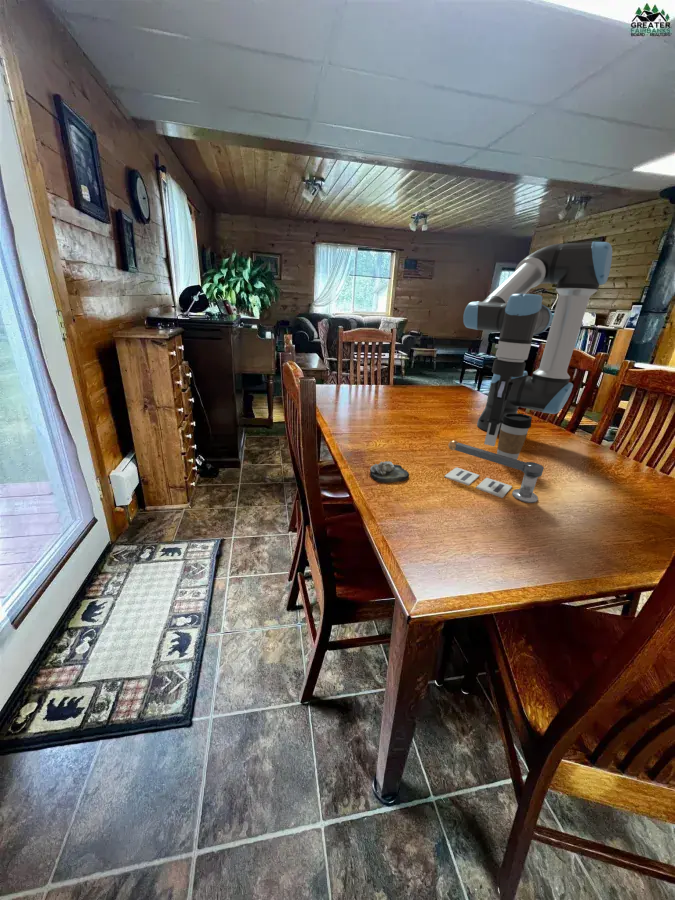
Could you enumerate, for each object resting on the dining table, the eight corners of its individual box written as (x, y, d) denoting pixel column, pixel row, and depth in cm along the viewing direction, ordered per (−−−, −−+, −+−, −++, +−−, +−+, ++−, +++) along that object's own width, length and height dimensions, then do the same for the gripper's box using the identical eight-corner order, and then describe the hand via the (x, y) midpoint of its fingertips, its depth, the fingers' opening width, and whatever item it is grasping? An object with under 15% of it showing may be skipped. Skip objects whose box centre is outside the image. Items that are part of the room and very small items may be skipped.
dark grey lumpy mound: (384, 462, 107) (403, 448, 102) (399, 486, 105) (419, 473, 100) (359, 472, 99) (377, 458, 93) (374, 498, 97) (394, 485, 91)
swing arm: (543, 474, 89) (546, 464, 88) (538, 480, 86) (542, 469, 85) (451, 446, 103) (453, 437, 102) (444, 450, 100) (446, 441, 99)
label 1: (456, 468, 105) (456, 466, 105) (479, 476, 101) (479, 474, 101) (444, 477, 100) (444, 475, 99) (468, 485, 95) (468, 484, 95)
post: (515, 488, 95) (522, 466, 93) (539, 496, 92) (547, 474, 89) (509, 496, 91) (515, 474, 88) (534, 505, 88) (541, 482, 85)
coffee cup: (523, 467, 108) (537, 421, 102) (494, 464, 110) (506, 418, 104) (516, 456, 116) (528, 413, 110) (489, 453, 117) (500, 410, 111)
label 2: (486, 478, 100) (486, 477, 100) (511, 487, 96) (512, 485, 96) (475, 488, 94) (476, 486, 94) (502, 498, 90) (503, 496, 90)
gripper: (498, 355, 97) (479, 435, 106) (490, 360, 87) (471, 448, 96) (528, 358, 94) (506, 441, 103) (524, 364, 83) (500, 455, 93)
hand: (489, 444), depth 99 cm, fingers closed
